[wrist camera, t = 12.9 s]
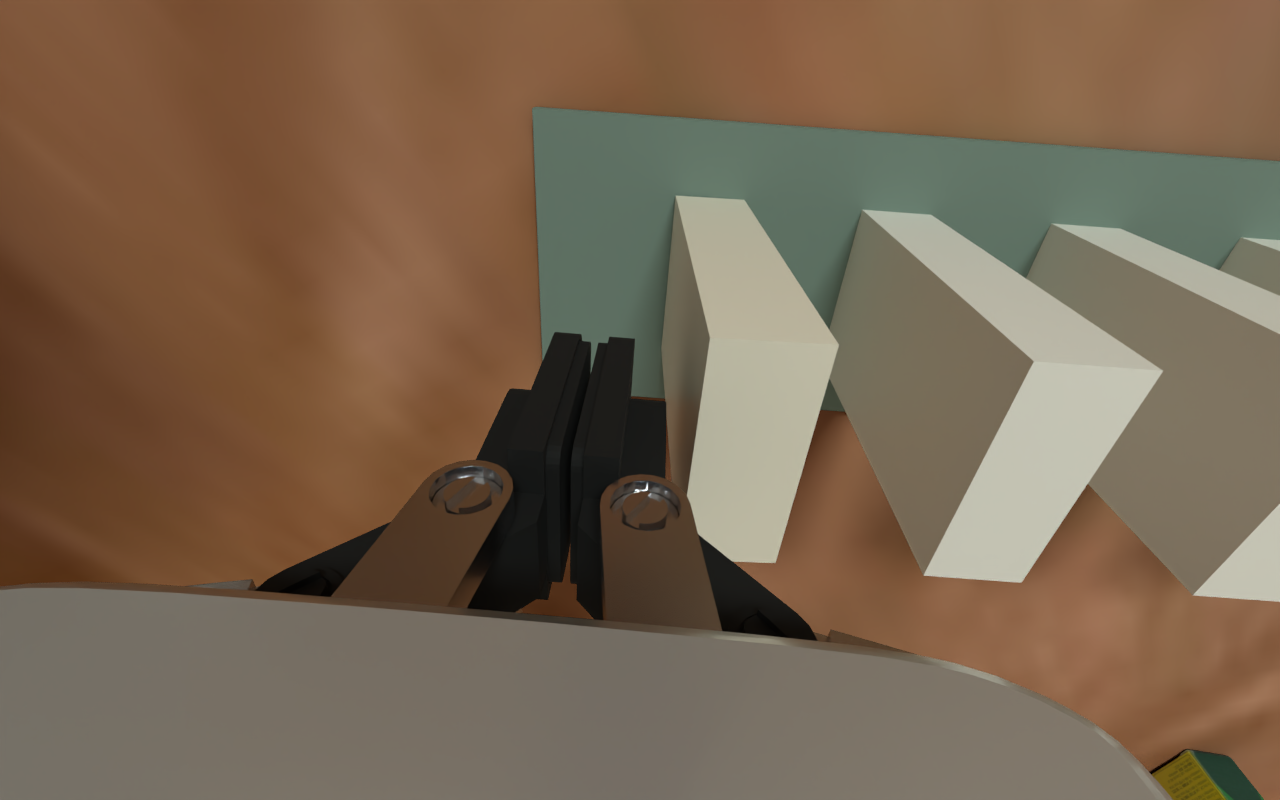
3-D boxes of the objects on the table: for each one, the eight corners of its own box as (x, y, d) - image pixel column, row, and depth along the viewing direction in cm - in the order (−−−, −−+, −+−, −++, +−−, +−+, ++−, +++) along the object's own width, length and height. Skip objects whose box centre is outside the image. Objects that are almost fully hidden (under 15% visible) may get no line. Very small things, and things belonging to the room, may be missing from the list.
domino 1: (661, 348, 19) (677, 559, 11) (675, 195, 16) (710, 337, 8) (719, 351, 19) (775, 563, 11) (744, 199, 16) (839, 344, 9)
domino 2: (820, 360, 19) (923, 575, 11) (862, 209, 16) (1033, 361, 9) (879, 364, 19) (1021, 582, 11) (931, 214, 16) (1163, 370, 9)
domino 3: (982, 372, 19) (1193, 595, 11) (1051, 223, 16) (1390, 387, 9) (1040, 376, 19) (1291, 602, 11) (1120, 228, 16) (1518, 396, 9)
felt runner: (545, 383, 20) (543, 389, 20) (535, 106, 15) (532, 108, 15) (1419, 447, 20) (1432, 454, 20) (1691, 191, 15) (1714, 194, 15)
